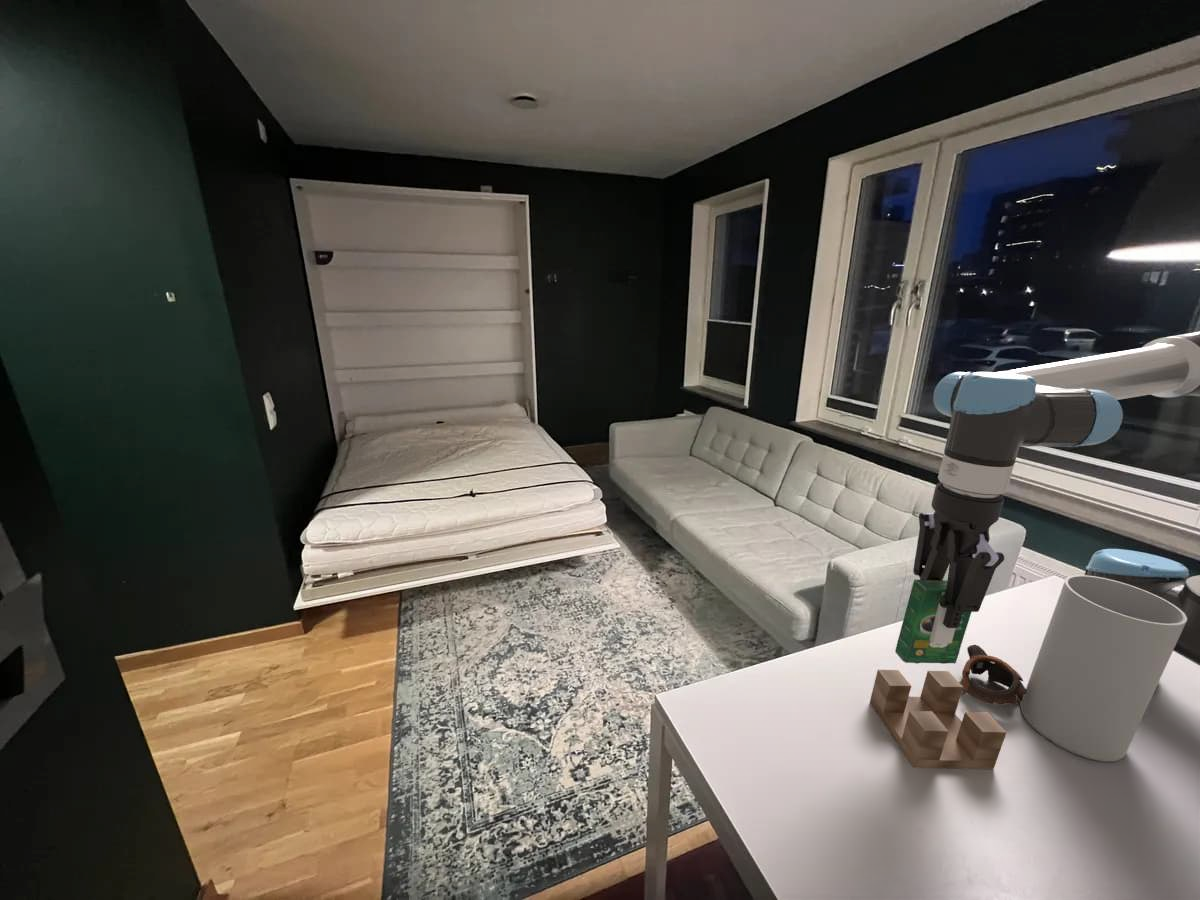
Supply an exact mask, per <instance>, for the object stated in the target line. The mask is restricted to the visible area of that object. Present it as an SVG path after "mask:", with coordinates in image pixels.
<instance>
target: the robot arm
mask: <svg viewBox="0 0 1200 900" xmlns="http://www.w3.org/2000/svg"><path fill="white" fill-rule="evenodd" d="M1147 395H1149V396H1150V395H1151V396H1154V397H1157V398H1176V397H1181V396H1193V397H1194V396H1195V397H1200V331H1194V332H1189V333H1188V332H1187V333H1184V334H1183V333H1182V334H1177V335H1171V336H1166V337H1165V336H1164V337H1159V338H1156V339H1154V340H1151V341H1149V342H1147V343H1146V344H1144V345H1143V346H1142V347H1138V348H1133V349H1127V350H1122V351H1121V350H1120V351H1116V352H1109V353H1108V352H1107V353H1103V354H1097V355H1091V356H1086V357H1081V358H1080V357H1079V358H1073V359H1068V360H1062V361H1055V362H1050V363H1044V364H1038V365H1031V366H1027V367H1021V368H1016V369H1008V370H1001V371H996V372H995V371H994V372H993V371H976V372H975V371H974V372H973V371H967V372H965V371H956V372H952V373H949V374H946V376H943V378H941V380H939V382H938V383H937V384H936V386H935V389H934V391H933V405H934V407H935V409H936V410H937V411H938V412H939V413H941V414H943V415H944V416H948V417H950V423H949V428H948V433H947V437H946V441H945V446H944V449H943V450H944V451H943V456H942V459H941V465H940V467H939V468H940V469H939V472H938V476H937V479H938V480H939V482H938V483H936V484H935V487H934V491H933V494H932V495H933V496H932V500H931V508H932V509H933V511H934V512H921V513H919V515H918V522H919V530H918V537H917V544H916V551H915V557H914V561H913V562H914V564H913V567H912V568H913V570H912V571H913V572H912V573H913V574H914V575H915V576H918V577H919V580H944V577H945V576H946V573H947V571H948V573H947V588H946V595H945V601H939V605H938V609H937V613H936V617H935V621H934V624H933V628H932V632H931V636H930V641H931V642H932V643H952V639H953V636H954V632H955V629H956V628H958V627H959V624H960V621H961V617H962V614H963V612H971V613H978V612H979V611H980V609H981V607H982V605H983V604H982V603H983V602H984V599H985V597H986V594H987V591H988V588H989V586H990V584H991V582H992V579H993V576H994V574H995V571H996V569H997V568H998V567H999V566H1000V565H1001V564H1002V563H1003V562H1004V560H1005V555H1004V553H1003V552H1001V551H995V550H994V549H993V548H992V547H991V544H989V542H990V528H991V526H993V525H994V524H995V523H997V522H998V521H999V519H1000V516H1001V512H1002V508H1003V506H1004V502H1005V496H1003V494H1005V493H1007V491H1008V488H1009V485H1010V481H1011V478H1012V474H1013V470H1014V467H1015V466H1014V465H1015V463H1016V461H1017V456H1018V452H1019V450H1020V447H1021V448H1022V447H1068V448H1078V447H1084V446H1093V445H1099V444H1101V443H1104V442H1107V441H1108V440H1110V439H1111V438H1112V437H1114V435H1116V434H1117V433H1118V431H1119V430H1120V426H1121V425H1122V421H1123V417H1124V412H1123V408H1122V406H1121V404H1120V402H1119V401H1118V400H1124V399H1131V398H1138V397H1143V396H1147ZM1085 569H1086V570H1085V572H1084V575H1087V576H1095V577H1101V578H1106V579H1110V580H1114V581H1118V582H1122V583H1125V584H1128V585H1131V586H1134V587H1137V588H1140V589H1142V590H1145V591H1147V592H1150V593H1152V594H1154V595H1157V596H1159V597H1161V598H1163V599H1165V600H1167V601H1168V602H1170V603H1172V604H1173V605H1175V606H1176V607H1178V608H1179V609H1180V610H1181V611H1183V612H1184V614H1185V615H1186V617H1187V621H1186V624H1185V626H1184V628H1183V630H1182V632H1181V634H1180V637H1179V639H1178V641H1177V643H1176V645H1175V648H1174V650H1173V652H1175V653H1177V654H1178V655H1180V656H1182V657H1183V658H1185V659H1187V660H1189V661H1190V662H1193V664H1196V665H1197V666H1199V667H1200V574H1199V575H1193V576H1190V573H1189V572H1190V571H1189V568H1187V567H1186V566H1185V565H1184V564H1183V563H1180V562H1178V561H1176V560H1172V559H1170V558H1166V557H1163V556H1160V555H1156V554H1152V553H1151V554H1150V553H1147V552H1141V551H1136V550H1129V549H1122V548H1105V549H1104V548H1103V549H1101V550H1097V551H1096V552H1094V553H1093V554H1092V556H1091V559H1090V560H1089V562H1088V565H1086V566H1085ZM1189 576H1190V577H1189Z"/></svg>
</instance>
